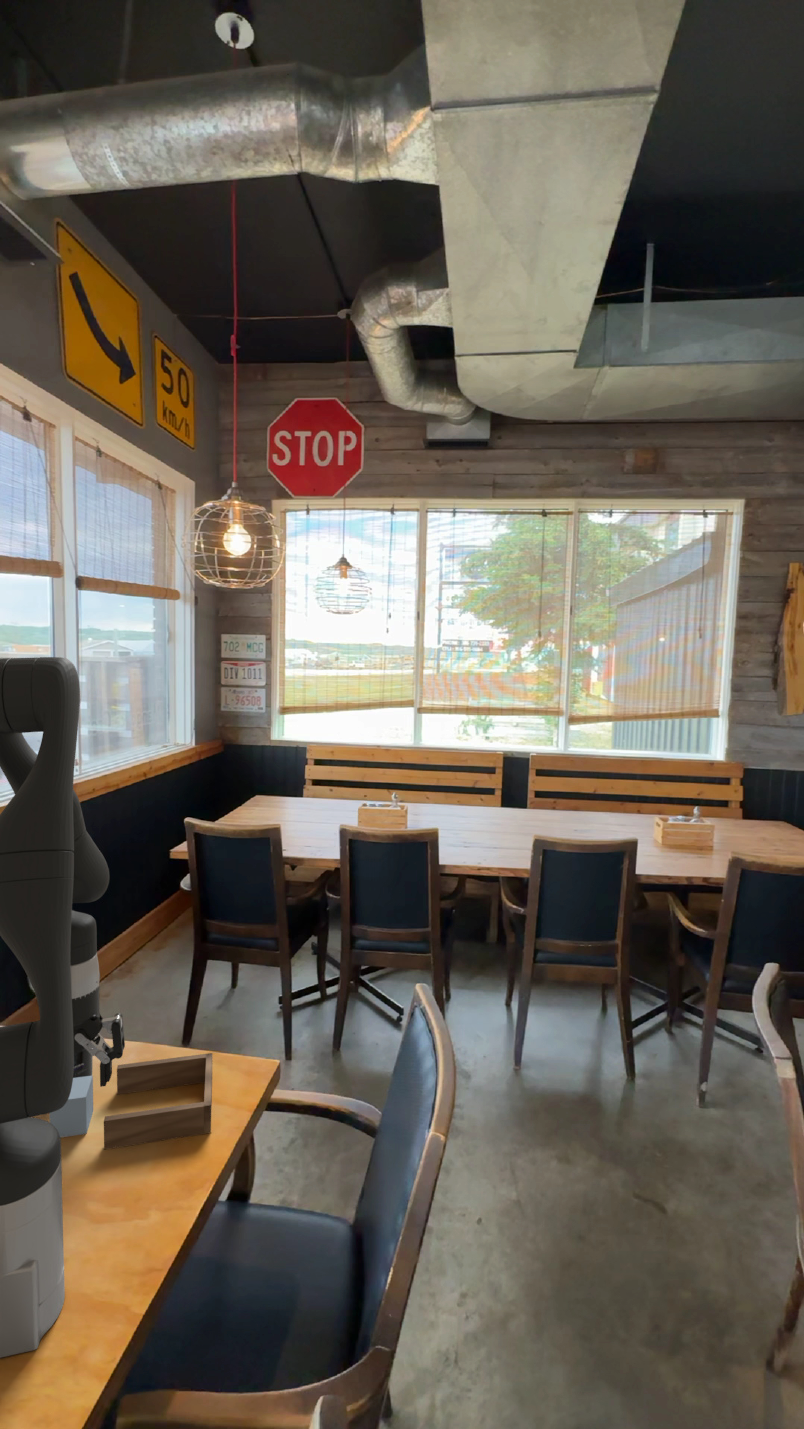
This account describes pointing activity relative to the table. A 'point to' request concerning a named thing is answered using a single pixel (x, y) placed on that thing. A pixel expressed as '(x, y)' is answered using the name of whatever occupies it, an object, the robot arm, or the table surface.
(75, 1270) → the table surface
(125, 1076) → the brown three-sided frame
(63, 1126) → the slate block
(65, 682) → the robot arm
